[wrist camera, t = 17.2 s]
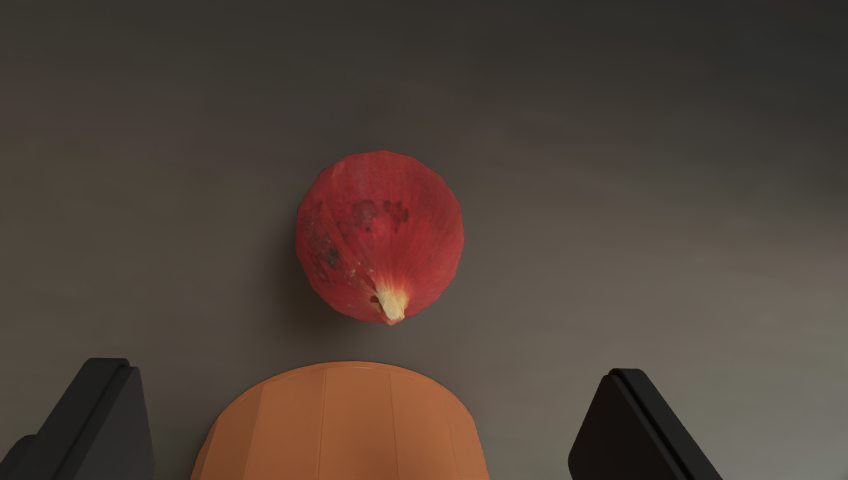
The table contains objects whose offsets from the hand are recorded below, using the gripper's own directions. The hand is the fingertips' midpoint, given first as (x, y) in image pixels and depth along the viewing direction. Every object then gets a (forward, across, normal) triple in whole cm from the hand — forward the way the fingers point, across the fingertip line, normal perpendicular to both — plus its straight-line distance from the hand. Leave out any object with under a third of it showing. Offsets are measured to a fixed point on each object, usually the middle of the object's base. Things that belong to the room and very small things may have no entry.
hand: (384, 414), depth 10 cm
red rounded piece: (+12, 0, 0) cm, 12 cm away
